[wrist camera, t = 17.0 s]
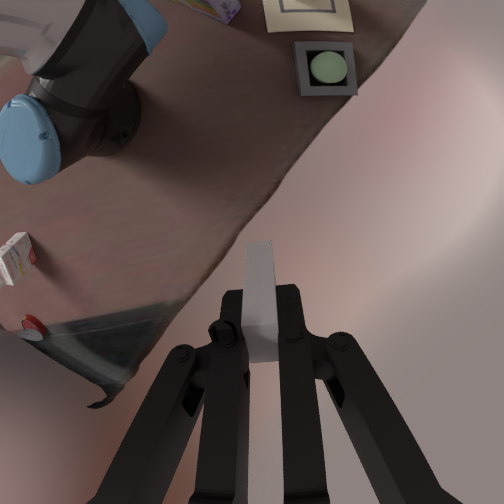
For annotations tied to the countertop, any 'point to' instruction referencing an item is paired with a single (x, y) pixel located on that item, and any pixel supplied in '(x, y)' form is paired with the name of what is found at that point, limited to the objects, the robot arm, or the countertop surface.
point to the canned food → (32, 328)
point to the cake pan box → (214, 8)
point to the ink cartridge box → (15, 258)
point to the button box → (303, 75)
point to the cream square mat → (307, 15)
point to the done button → (328, 67)
